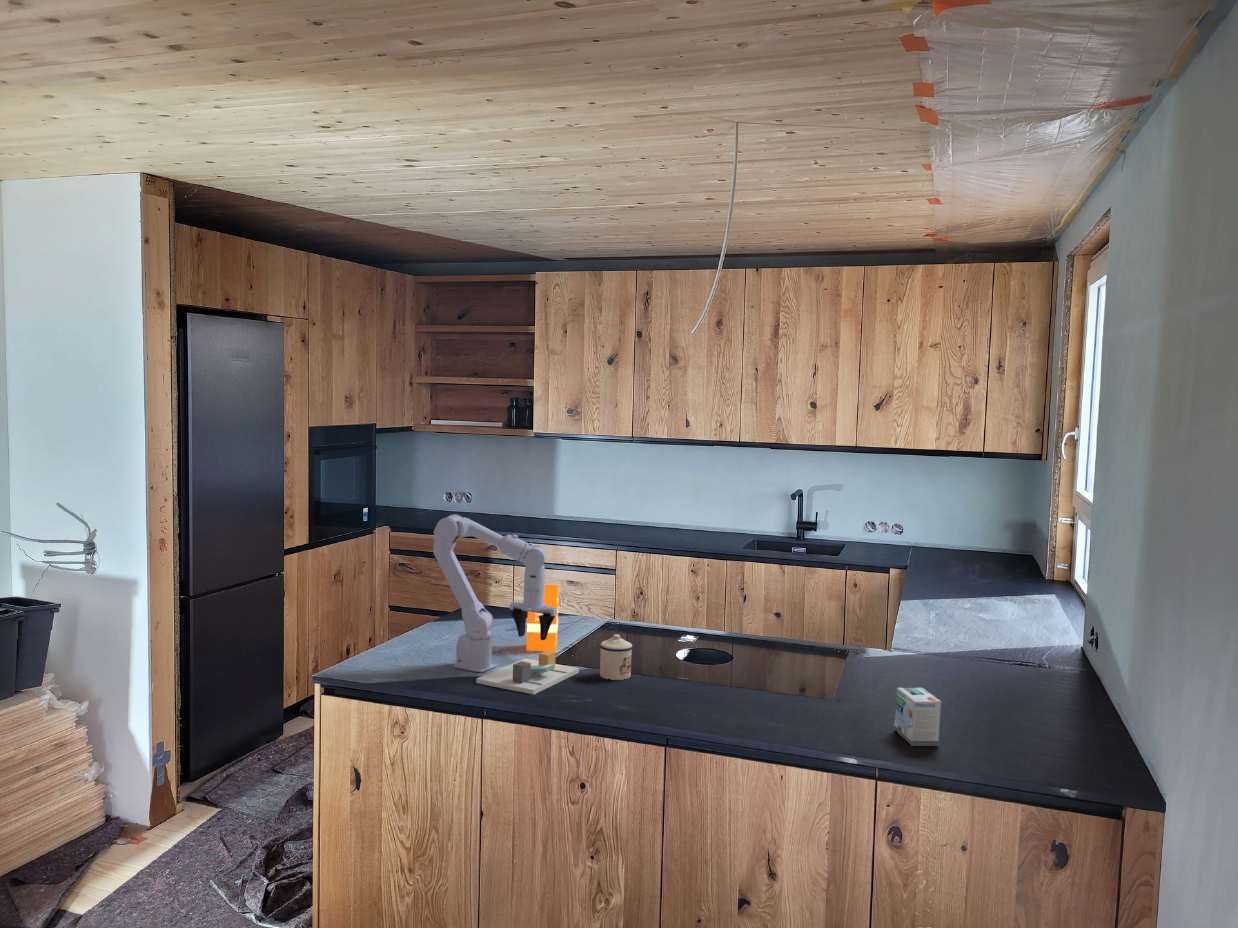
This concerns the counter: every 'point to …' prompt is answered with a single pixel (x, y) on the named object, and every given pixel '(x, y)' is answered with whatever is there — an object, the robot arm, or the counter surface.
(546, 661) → the block
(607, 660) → the teacup with lid
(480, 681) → the panel
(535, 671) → the teal flat block
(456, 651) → the robot arm
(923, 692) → the light bulb box
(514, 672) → the charcoal fader
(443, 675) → the counter surface
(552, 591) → the orange juice
